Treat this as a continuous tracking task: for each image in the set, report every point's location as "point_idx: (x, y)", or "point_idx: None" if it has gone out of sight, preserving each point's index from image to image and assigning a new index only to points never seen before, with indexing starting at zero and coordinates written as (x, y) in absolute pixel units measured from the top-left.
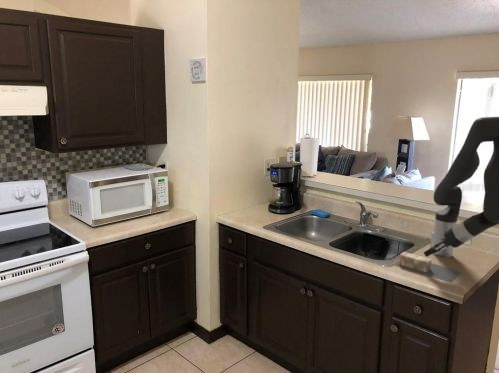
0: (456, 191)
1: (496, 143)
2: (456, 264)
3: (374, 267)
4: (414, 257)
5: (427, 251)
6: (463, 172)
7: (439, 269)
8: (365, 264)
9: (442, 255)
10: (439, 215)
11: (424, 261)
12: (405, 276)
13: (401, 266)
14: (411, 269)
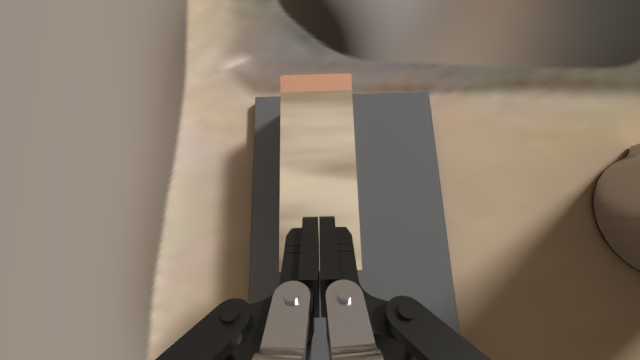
0: None
1: None
2: (582, 351)
3: (187, 45)
4: (301, 163)
5: (283, 257)
6: None
7: None
8: (193, 5)
9: (620, 239)
10: None
11: (279, 246)
12: (182, 194)
13: (267, 131)
14: (266, 186)
